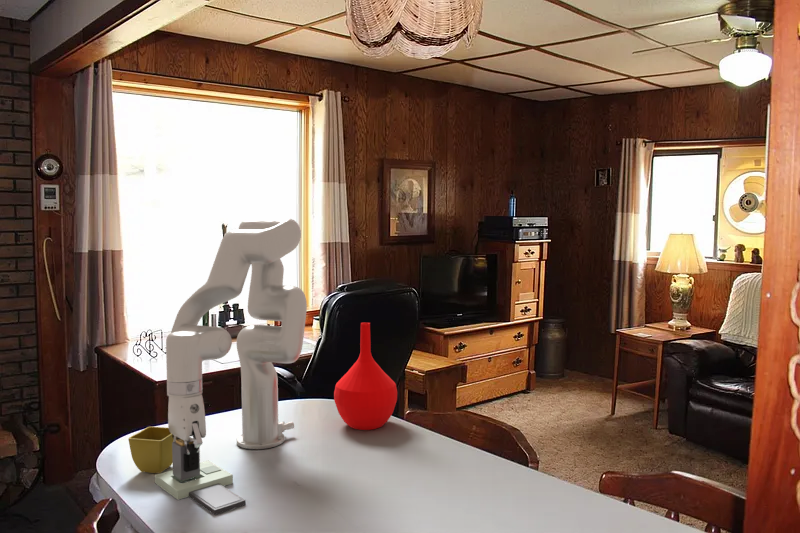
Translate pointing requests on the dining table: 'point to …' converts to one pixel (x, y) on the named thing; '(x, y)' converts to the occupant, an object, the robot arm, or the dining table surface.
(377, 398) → the vase
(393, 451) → the dining table surface
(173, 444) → the block
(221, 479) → the outlet plate
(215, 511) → the phone slab
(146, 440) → the flower pot
